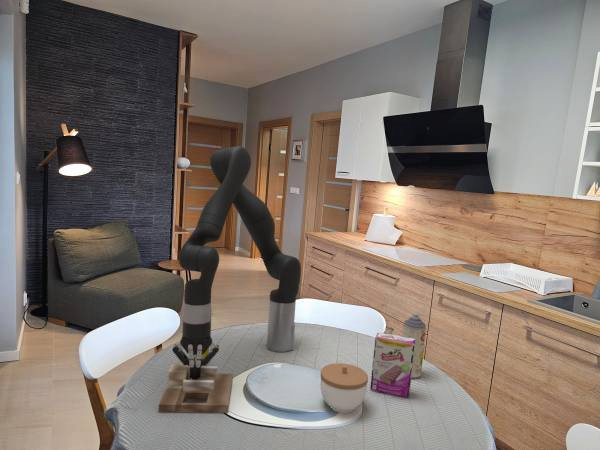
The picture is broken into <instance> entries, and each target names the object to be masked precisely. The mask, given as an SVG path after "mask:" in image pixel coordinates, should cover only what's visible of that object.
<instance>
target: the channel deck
mask: <svg viewBox="0 0 600 450" xmlns="http://www.w3.org/2000/svg"><path fill="white" fill-rule="evenodd" d="M233 376H234V375H233V373H218V366H216V365H215V366H212V365H210V366H208V365H205V366H201V375H200V378H198V380H192V378H190V367H189V375H188V380H183V386H168V384H167V385H166V388H165V390H164V393H163V394H162V397H161V399H160V401H159V403H158V413H191V414H192V413H195V414H196V413H197V414H199V413H200V414H201V413H205V414H206V413H208V414H211V413H213V414H216V413H217V414H218V413H219V414H220V413H221V414H228V413H229V408H230V400H231V394H232V386H233Z"/></svg>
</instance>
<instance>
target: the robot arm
mask: <svg viewBox="0 0 600 450" xmlns="http://www.w3.org/2000/svg"><path fill="white" fill-rule="evenodd" d="M209 162H210V168H211V170H212V173H213V175H214V176H215V178H216V179H217V181H218V182H219V184H220V185H219V187H218V189H217V190H216V191H215V192H214V193H213V194H212V195H211V196H210V198H209V199H208V201H206V203H205V205H204V206H203V208H202V211H201V213H200V215H199V219H198V221H197V224H196V227H195V228H194V230H193V231H192V233H191V234H190V236H189V237H188V239H187V240H186V241H185V242H184V244H183V245H182V247H181V248H180V251H179V254H178V263H179V266H180V268H181V269H183V270H185V271H191V272H197V273H200V276H199V278H192V279H189V280H187V281H186V282H185V285H184V302H183V309H182V330H181V331H182V334H181V335H182V337H181V339H180V340H179V341H180V342H178V343H177V344H176V343H175V344H174V345H173V347H172V352H173V354H174V355H175V356H176V358H177V359H178V360H179V361H180V362H181V363H182V364H183V365H188V366H189V367H190V378H192V380H198V378H200V375H201V366H203V365H204V366H208V364H209V362H211V360H212V359H213V358H214V357H215V356H216V355H217V353H218V352H219V349H220V345H219V344H215V343H214V342H213V338H212V335H211V334H212V333H211V332H212V311H213V310H212V287H213V283H214V281H215V276H216V272H217V271H218V267H219V264H220V254H219V252H218V250H217V249H216V248H215V247H213V246H210V245H209V246H207V245H206V244H209V243H214V242H215V243H216V242H218V241H219V240H220V237H221V235H222V233H223V229H224V227H225V223H226V221H227V217H228V215H229V212H230V210H231V207H232V205H233V206H234V208H235V209H236V211H237V213H238V216H240V219H241V220H242V223H243V225H244V226H245V228H246V230H247V232H248V234H249V236H250V237H251V239H252V240H253V243H254V245H255V247H256V249H257V250H258V252H259V254H260V257H261V259H262V262H263V264H264V266H265V270H266V271H267V273H268V275H269V276H270V277H271V278H272V279H275V280H277V281H278V288H276V289H272V290H271V291H270V293H269V301H268V302H269V305H268V322H267V323H268V324H267V334H266V337H267V339H266V348H267V349H268V350H270V351H272V352H278V353H283V352H284V353H285V352H289V351H294V345H295V344H294V343H295V341H294V340H295V329H296V328H295V327H296V323H295V319H296V317H295V316H296V301H297V296H298V293H299V290H300V281H301V273H302V267H301V263H300V260H299V259H298V258H297V257H295V256H293V255H287V254H284V253H283V252H282V251H281V249H280V248H279V246H278V244H277V242H276V238H275V236H276V235H275V234H276V233H275V232H276V226H275V225H276V223H275V219H274V218H273V216H272V214H271V211H270V210H269V207H268V206H267V204H266V203H265V202H264V201H263V200H262V199H261V198H260V197H259V196H257V195H256V194H254V193H253V192H252V191H250V189H248V188H247V186H245V184H244V182H245V180H246V178H247V177H248V176H249V173H250V170H251V167H252V166H251V165H252V159H251V155H250V153H249V151H248V150H247V149H246V147H244V146H241V145H237V146H230V147H226V148H220V149H217V150H215V151H213V152H212V153H211V155H210V158H209ZM208 348H209V354H208V355H207V356H206V357H205V358H204V359H202V355H203V354H204V353H205V352H206V350H207V349H208ZM183 350H184V351H183ZM185 352H186V353H185ZM187 354H188V356H187ZM195 355H197V358H196V364H195Z"/></svg>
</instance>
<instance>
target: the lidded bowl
mask: <svg viewBox="0 0 600 450" xmlns="http://www.w3.org/2000/svg"><path fill="white" fill-rule="evenodd" d="M368 380H369V375H368V373H367V372H366V371H365V370H364V369H363V368H360V367H359V366H357V365H356V366H355V365H353V364H348V363H340V362H339V363H338V362H337V363H330V364H327V365H325V366H324V367H322V368H321V370H320V392H321V396H322V398H323V400H324V401H325V403H326V404H327V405H328V407H329V406H330V407H332V408H333V409H334V410H333V411H334V412H336V413H339V414H349V413H352V412H353V411H354V410H356V409H357V408H358V407H359V406H360V405H361V404H362V402H364V399H365V397H366V392H367V387H368ZM330 407H329V408H330Z"/></svg>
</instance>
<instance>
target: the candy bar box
mask: <svg viewBox="0 0 600 450" xmlns="http://www.w3.org/2000/svg"><path fill="white" fill-rule="evenodd" d="M402 336H403V335H402ZM402 336H401V335H396V334H391V333H386V332H379V331H377V333H376V335H375V339H374V348H373V349H374V350H373V357H372V367H371V368H372V370H371V378H370V379H371V380H370V387H369V389H370V391H373V392H379V393H383V394H386V395H391V396H395V397H400V398H403V399H409V396H410V391H411V388H412V387H411V384H412V379H411V377H412V368H413V359H414V350H415V341H416V340H415V339H413V338H407V337H402Z"/></svg>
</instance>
